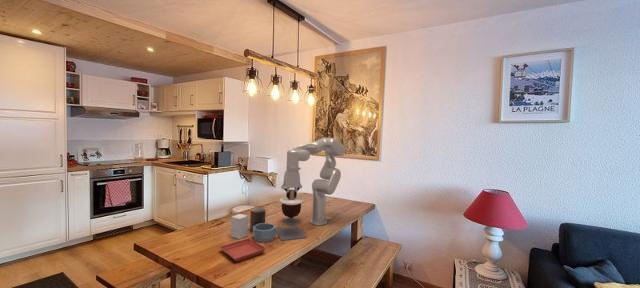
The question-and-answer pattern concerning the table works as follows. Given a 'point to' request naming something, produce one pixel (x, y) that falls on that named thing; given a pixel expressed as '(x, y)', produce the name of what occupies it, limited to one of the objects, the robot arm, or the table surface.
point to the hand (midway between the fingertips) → (291, 197)
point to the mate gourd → (291, 213)
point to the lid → (291, 199)
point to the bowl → (264, 232)
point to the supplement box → (239, 226)
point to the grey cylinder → (257, 217)
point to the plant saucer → (242, 249)
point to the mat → (290, 233)
